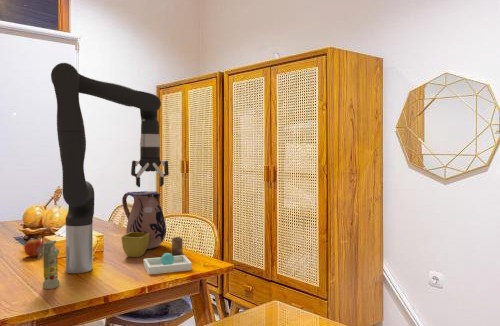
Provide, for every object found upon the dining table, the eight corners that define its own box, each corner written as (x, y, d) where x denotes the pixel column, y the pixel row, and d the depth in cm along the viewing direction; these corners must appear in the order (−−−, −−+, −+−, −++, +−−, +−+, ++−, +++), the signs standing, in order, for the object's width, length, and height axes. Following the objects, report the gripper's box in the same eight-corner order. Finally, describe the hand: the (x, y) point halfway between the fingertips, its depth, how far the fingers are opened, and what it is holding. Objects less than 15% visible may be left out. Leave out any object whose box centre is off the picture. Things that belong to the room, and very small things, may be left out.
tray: (148, 274, 152) (148, 267, 152) (143, 265, 163) (143, 258, 163) (191, 269, 158) (191, 263, 158) (184, 261, 169) (184, 255, 169)
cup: (171, 259, 172) (171, 240, 172) (168, 255, 178) (168, 237, 177) (185, 257, 174) (186, 239, 174) (182, 254, 180) (182, 236, 179)
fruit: (20, 257, 171) (20, 238, 170) (34, 253, 177) (33, 234, 177) (34, 259, 169) (34, 239, 168) (47, 255, 175) (47, 236, 175)
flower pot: (140, 259, 171) (140, 237, 171) (120, 257, 173) (120, 236, 172) (149, 253, 180) (150, 233, 179) (131, 252, 181) (131, 231, 181)
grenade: (61, 283, 141) (60, 239, 140) (52, 291, 134) (51, 244, 133) (42, 283, 140) (41, 239, 140) (32, 290, 134) (31, 244, 133)
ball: (161, 268, 157) (162, 255, 157) (159, 264, 162) (159, 251, 161) (175, 267, 159) (175, 254, 159) (172, 263, 163) (172, 251, 163)
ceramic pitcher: (157, 253, 181) (157, 195, 179) (111, 250, 184) (111, 193, 183) (171, 243, 198) (171, 190, 197) (129, 241, 201) (129, 189, 200)
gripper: (132, 145, 159) (132, 188, 160) (170, 146, 165) (169, 187, 165) (130, 145, 166) (130, 186, 167) (166, 145, 171) (166, 185, 172)
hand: (149, 186), depth 166 cm, fingers open, 8 cm apart
